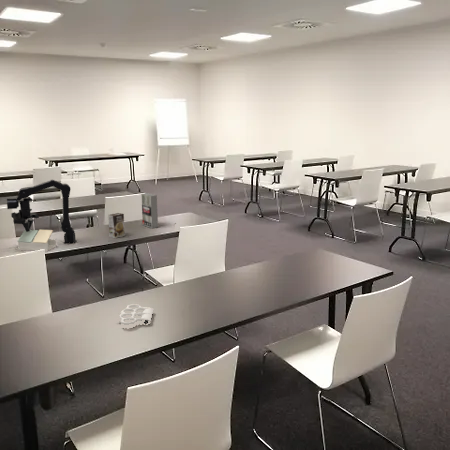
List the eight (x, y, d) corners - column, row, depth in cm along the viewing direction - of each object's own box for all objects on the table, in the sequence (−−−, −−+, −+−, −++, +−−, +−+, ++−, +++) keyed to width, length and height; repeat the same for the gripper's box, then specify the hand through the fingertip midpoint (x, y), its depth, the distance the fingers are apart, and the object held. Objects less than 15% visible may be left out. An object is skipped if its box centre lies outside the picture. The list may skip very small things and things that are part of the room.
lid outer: (38, 230, 287) (38, 230, 286) (31, 242, 279) (30, 241, 279) (25, 230, 288) (24, 229, 288) (18, 241, 281) (17, 241, 280)
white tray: (57, 246, 290) (56, 238, 288) (46, 251, 278) (46, 243, 277) (29, 244, 293) (28, 237, 292) (18, 249, 281) (17, 242, 280)
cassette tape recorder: (141, 225, 345) (140, 193, 339) (148, 224, 349) (146, 193, 343) (151, 228, 335) (150, 196, 329) (158, 227, 339) (156, 195, 333)
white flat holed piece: (150, 329, 176) (113, 330, 175) (154, 310, 194) (121, 311, 193) (149, 322, 175) (112, 323, 175) (154, 303, 193) (120, 304, 192)
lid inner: (53, 230, 284) (52, 230, 284) (46, 243, 278) (46, 242, 277) (39, 230, 286) (39, 229, 285) (33, 242, 279) (32, 241, 279)
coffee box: (115, 238, 308) (113, 215, 304) (109, 237, 312) (107, 214, 308) (125, 235, 315) (124, 213, 311) (119, 234, 319) (118, 212, 315)
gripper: (22, 204, 292) (25, 227, 296) (4, 210, 274) (7, 234, 278) (38, 205, 290) (40, 228, 294) (20, 211, 272) (23, 235, 276)
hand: (27, 231), depth 286 cm, fingers closed
